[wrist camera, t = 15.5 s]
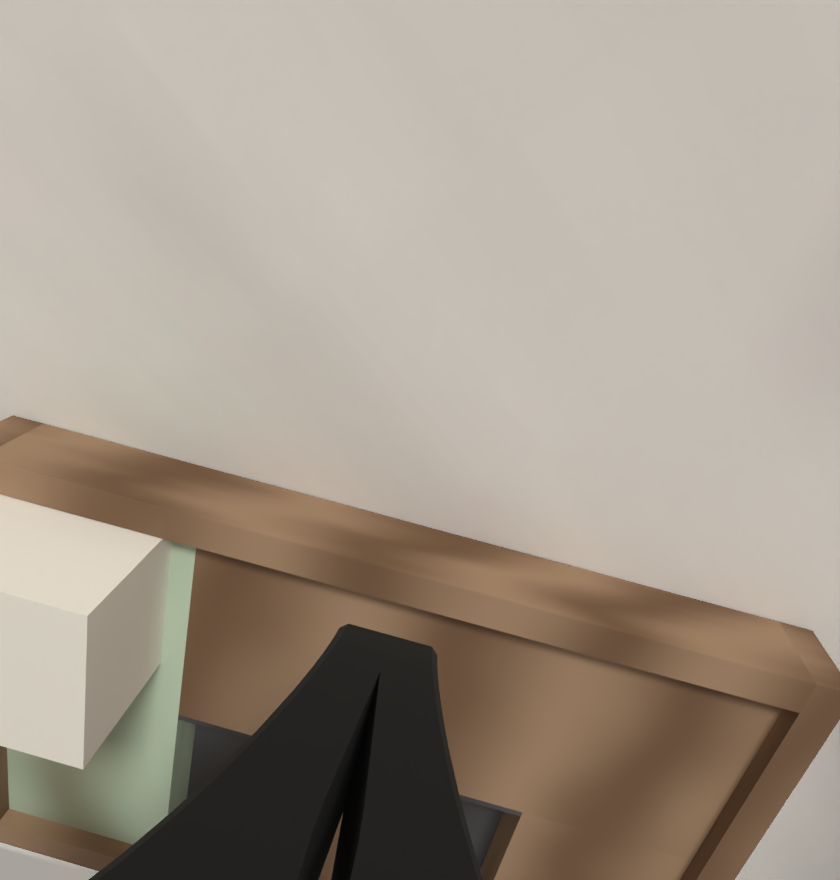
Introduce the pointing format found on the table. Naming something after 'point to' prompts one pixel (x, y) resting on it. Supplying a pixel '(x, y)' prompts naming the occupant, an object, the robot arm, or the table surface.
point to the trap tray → (459, 675)
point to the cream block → (74, 627)
